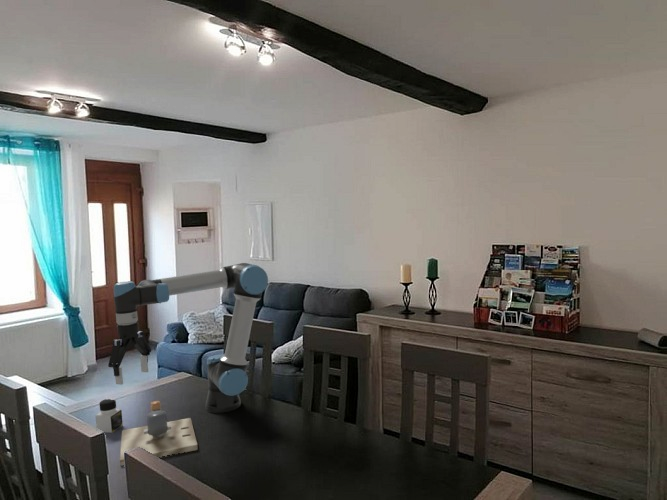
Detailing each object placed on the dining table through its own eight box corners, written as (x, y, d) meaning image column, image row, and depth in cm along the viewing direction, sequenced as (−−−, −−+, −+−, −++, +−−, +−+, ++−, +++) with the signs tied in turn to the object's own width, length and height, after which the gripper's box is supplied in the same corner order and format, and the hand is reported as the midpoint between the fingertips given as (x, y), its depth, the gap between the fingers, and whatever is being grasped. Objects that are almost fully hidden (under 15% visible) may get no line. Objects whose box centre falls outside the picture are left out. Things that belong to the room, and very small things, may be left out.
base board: (190, 422, 207) (190, 413, 207) (197, 449, 183) (196, 439, 182) (122, 435, 198) (121, 425, 197) (120, 465, 173) (119, 454, 173)
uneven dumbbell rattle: (169, 416, 203) (168, 398, 203) (171, 432, 188) (170, 413, 188) (143, 420, 200) (142, 403, 199) (144, 437, 185) (142, 418, 184)
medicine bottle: (112, 433, 200) (109, 403, 199) (96, 432, 202) (93, 403, 200) (123, 425, 207) (120, 397, 206) (107, 424, 208) (105, 396, 207)
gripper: (110, 331, 176) (116, 390, 178) (157, 315, 200) (162, 367, 202) (93, 331, 179) (99, 388, 181) (142, 315, 202) (147, 366, 204)
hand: (132, 377), depth 191 cm, fingers open, 13 cm apart
